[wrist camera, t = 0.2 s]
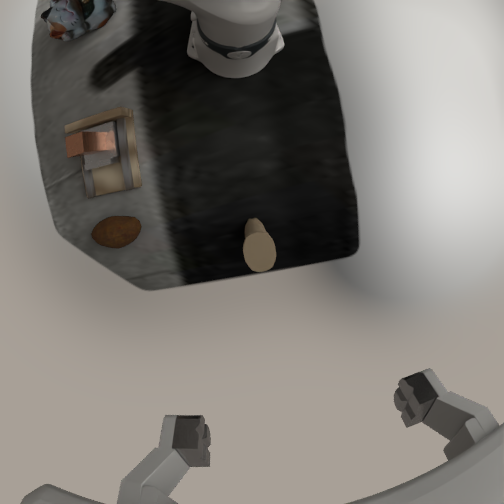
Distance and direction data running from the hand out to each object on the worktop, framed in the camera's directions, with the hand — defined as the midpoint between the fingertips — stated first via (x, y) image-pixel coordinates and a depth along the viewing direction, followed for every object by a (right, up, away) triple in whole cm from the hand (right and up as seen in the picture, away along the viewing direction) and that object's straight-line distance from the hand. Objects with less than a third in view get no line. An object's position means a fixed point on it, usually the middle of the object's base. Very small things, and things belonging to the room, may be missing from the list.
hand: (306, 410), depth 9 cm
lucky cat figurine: (-39, +59, +25) cm, 75 cm away
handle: (-2, +12, +47) cm, 48 cm away
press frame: (-31, +26, +39) cm, 56 cm away
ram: (-32, +27, +37) cm, 56 cm away
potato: (-30, +12, +45) cm, 55 cm away
